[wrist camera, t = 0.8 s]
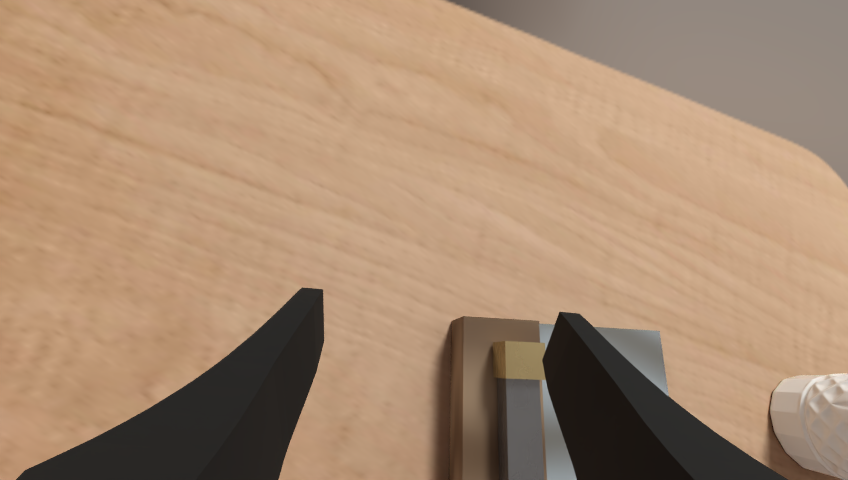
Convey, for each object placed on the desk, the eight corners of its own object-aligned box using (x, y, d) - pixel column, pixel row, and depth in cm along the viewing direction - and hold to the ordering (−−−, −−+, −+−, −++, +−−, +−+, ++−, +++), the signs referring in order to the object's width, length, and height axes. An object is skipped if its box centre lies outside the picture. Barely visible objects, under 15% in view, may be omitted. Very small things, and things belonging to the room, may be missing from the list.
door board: (678, 592, 25) (722, 623, 22) (447, 606, 22) (461, 644, 19) (644, 332, 29) (677, 329, 27) (451, 321, 27) (464, 316, 24)
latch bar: (545, 602, 20) (566, 626, 18) (491, 605, 20) (506, 631, 18) (534, 344, 24) (549, 343, 22) (488, 342, 24) (500, 340, 22)
